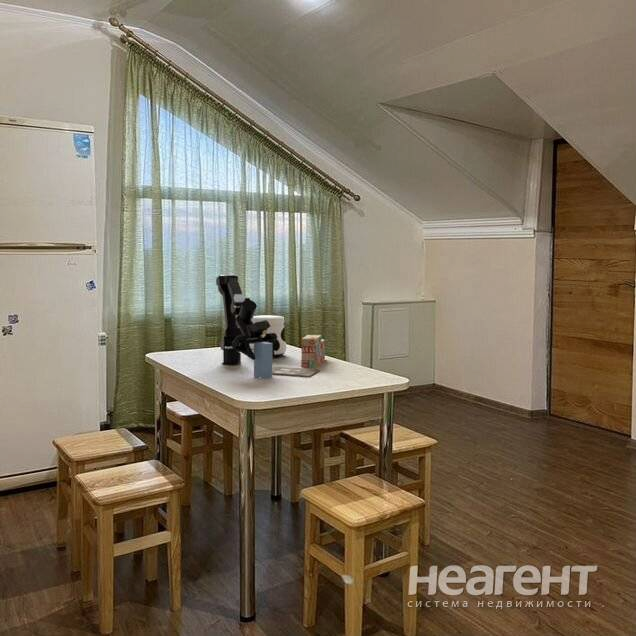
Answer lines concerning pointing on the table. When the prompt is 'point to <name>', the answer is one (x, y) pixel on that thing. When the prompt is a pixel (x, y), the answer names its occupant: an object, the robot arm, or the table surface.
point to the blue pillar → (263, 359)
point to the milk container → (275, 327)
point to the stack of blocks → (312, 350)
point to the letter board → (293, 371)
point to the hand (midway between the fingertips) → (264, 358)
